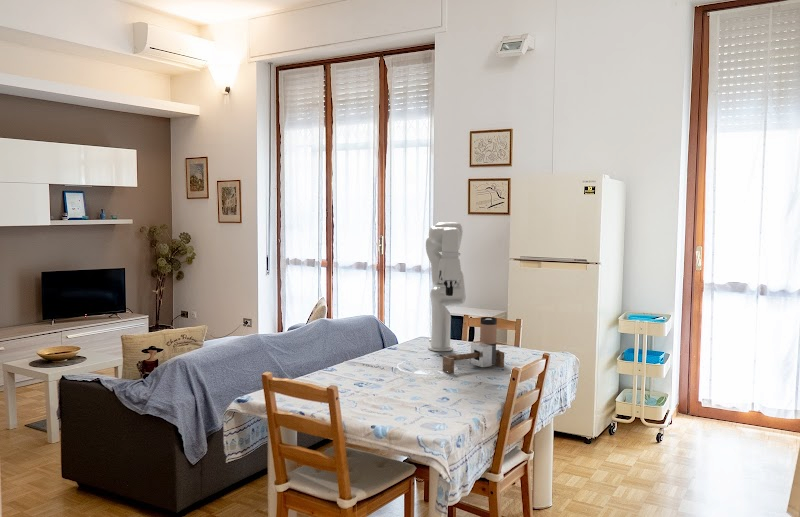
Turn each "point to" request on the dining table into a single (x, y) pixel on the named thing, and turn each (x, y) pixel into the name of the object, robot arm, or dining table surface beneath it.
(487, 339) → the travel mug
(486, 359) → the sleeve
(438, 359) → the dining table surface
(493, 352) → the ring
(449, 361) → the dowel rail
